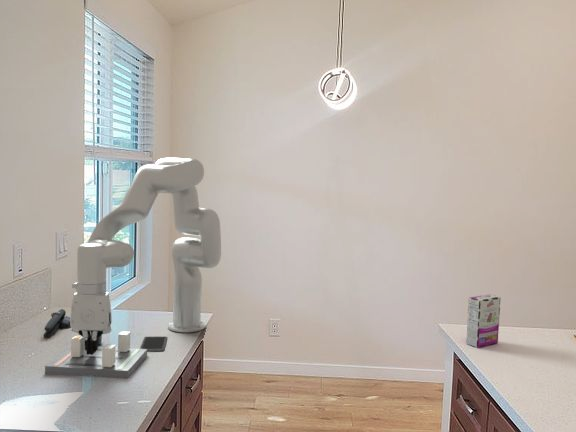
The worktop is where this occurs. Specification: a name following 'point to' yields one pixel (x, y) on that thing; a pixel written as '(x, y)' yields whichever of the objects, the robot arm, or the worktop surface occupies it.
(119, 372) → the breaker board
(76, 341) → the handle
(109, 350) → the block
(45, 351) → the worktop surface
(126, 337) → the block
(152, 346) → the cell phone
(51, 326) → the can opener
